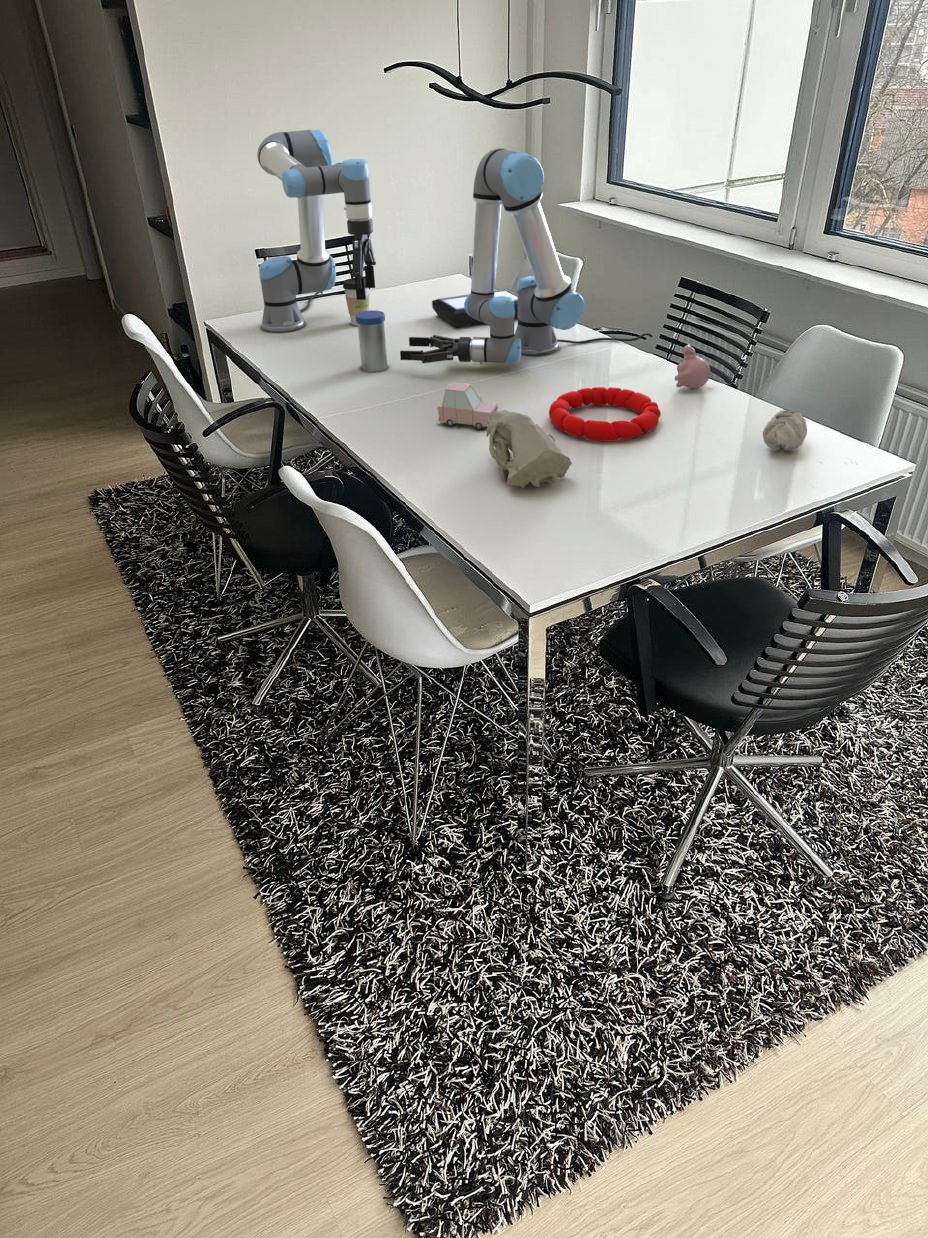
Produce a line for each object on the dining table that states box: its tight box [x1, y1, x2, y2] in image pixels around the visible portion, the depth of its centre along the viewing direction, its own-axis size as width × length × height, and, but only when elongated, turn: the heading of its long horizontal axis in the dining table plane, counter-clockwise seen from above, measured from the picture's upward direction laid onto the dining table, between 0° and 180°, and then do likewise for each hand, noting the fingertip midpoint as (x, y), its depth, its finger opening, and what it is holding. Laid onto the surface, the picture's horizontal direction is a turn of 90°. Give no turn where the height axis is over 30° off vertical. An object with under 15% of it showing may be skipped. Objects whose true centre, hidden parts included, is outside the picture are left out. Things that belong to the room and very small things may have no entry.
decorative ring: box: [548, 386, 661, 442], centre depth 242 cm, size 7×30×30 cm
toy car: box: [437, 382, 499, 431], centre depth 243 cm, size 9×15×10 cm, turn 70°
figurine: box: [674, 344, 711, 390], centre depth 259 cm, size 9×11×12 cm
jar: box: [357, 321, 388, 373], centre depth 282 cm, size 8×8×16 cm
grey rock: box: [485, 409, 573, 489], centre depth 216 cm, size 17×25×20 cm
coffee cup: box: [342, 277, 370, 327], centre depth 323 cm, size 10×10×15 cm
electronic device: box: [431, 288, 518, 329], centre depth 328 cm, size 32×6×20 cm
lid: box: [356, 310, 386, 325], centre depth 277 cm, size 9×9×2 cm
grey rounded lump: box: [762, 410, 808, 451], centre depth 223 cm, size 10×15×10 cm
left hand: (366, 293), depth 273 cm, fingers open, 13 cm apart
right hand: (404, 348), depth 281 cm, fingers open, 13 cm apart
